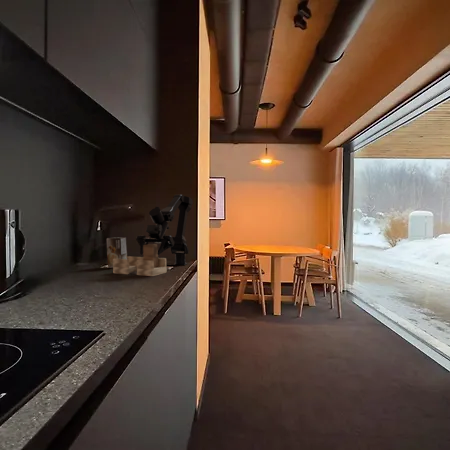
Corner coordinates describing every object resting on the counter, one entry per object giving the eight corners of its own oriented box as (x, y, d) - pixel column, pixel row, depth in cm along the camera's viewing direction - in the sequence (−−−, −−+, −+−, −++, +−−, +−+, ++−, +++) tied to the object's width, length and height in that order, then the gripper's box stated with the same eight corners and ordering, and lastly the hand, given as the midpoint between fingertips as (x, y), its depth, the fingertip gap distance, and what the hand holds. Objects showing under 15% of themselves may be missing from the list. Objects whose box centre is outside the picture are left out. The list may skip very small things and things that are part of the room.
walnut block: (149, 266, 194) (148, 244, 193) (158, 266, 192) (157, 244, 192) (143, 268, 189) (143, 245, 189) (153, 268, 187) (152, 245, 187)
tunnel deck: (113, 273, 194) (112, 258, 194) (128, 269, 204) (128, 256, 204) (152, 276, 183) (152, 261, 183) (166, 272, 194) (166, 258, 193)
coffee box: (128, 266, 217) (127, 237, 216) (121, 268, 211) (121, 238, 210) (113, 266, 220) (112, 237, 219) (106, 267, 213) (106, 238, 213)
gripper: (137, 219, 197) (125, 243, 187) (171, 218, 191) (160, 243, 181) (145, 233, 204) (134, 257, 194) (178, 234, 198) (169, 258, 188)
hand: (149, 254), depth 189 cm, fingers open, 9 cm apart
